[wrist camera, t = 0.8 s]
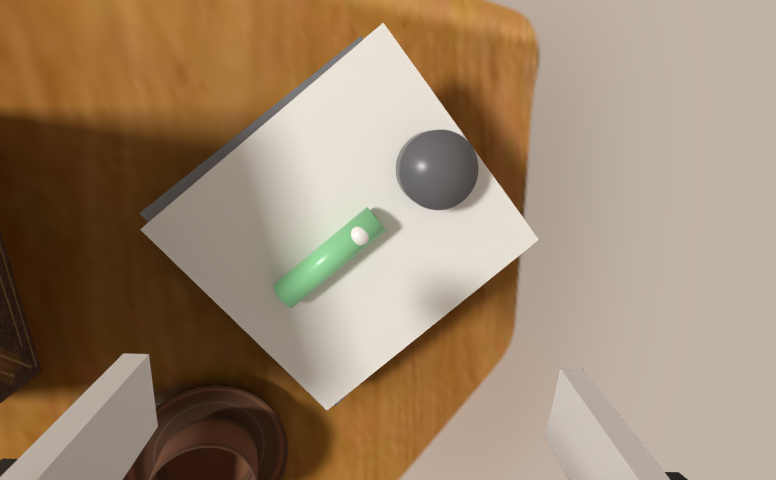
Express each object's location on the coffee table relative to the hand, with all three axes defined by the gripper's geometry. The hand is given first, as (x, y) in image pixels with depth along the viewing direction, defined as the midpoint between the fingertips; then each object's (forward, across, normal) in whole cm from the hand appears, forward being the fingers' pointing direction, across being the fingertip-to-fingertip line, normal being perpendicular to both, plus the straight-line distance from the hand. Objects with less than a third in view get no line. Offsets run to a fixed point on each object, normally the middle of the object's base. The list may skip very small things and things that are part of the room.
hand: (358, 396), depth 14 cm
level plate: (+17, +1, 0) cm, 18 cm away
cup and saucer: (+17, +12, +19) cm, 28 cm away
